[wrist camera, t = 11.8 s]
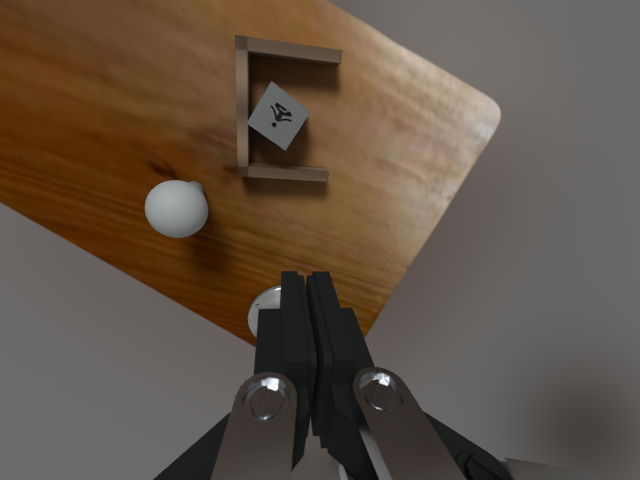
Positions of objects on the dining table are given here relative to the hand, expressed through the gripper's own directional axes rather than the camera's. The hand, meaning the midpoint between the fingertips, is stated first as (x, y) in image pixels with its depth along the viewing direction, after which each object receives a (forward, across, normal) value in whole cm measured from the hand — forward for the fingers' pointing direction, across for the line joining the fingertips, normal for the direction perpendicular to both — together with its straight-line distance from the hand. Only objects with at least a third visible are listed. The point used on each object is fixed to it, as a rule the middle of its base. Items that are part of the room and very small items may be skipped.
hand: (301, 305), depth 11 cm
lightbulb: (+31, +11, +5) cm, 34 cm away
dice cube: (+31, +1, -5) cm, 32 cm away
